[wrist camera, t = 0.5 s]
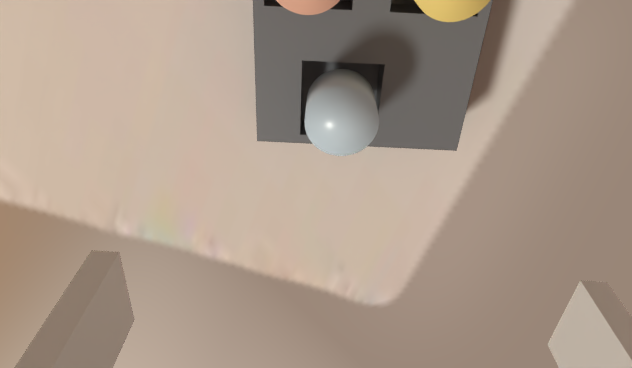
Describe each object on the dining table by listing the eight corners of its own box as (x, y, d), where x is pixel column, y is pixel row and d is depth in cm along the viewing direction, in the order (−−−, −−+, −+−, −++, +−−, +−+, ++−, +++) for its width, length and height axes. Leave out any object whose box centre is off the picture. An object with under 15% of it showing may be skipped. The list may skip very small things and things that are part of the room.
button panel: (258, -123, 29) (249, -124, 25) (496, -111, 29) (519, -110, 25) (263, 118, 38) (257, 140, 34) (445, 127, 38) (456, 150, 35)
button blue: (307, 66, 31) (305, 86, 28) (378, 70, 31) (383, 89, 28) (305, 130, 34) (303, 154, 31) (370, 133, 34) (374, 157, 31)
